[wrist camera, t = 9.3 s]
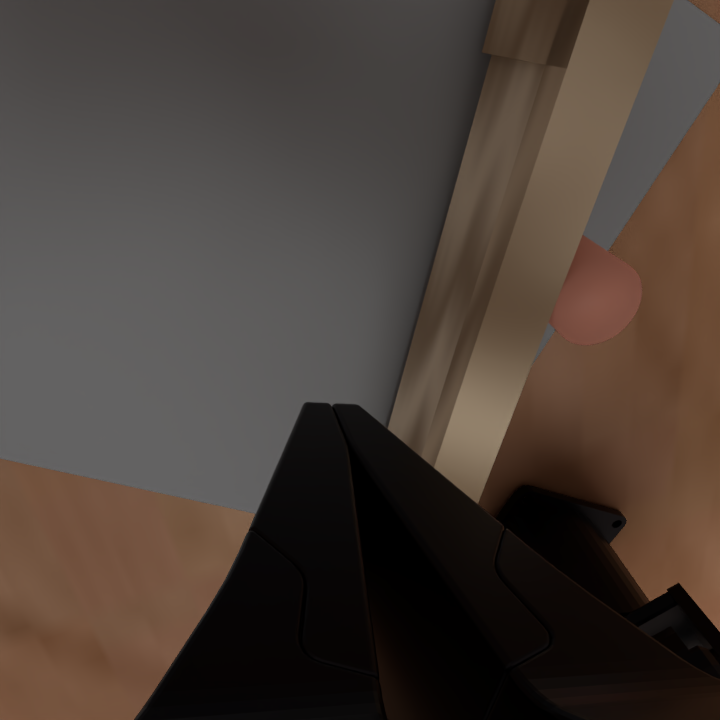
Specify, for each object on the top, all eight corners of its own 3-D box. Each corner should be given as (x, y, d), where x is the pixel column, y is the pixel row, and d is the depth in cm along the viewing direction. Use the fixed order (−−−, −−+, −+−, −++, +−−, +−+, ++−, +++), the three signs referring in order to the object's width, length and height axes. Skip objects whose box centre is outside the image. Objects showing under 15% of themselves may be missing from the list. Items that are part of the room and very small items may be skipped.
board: (723, 41, 19) (919, 56, 14) (405, 530, 28) (448, 660, 22) (-189, -622, 11) (-633, -1289, 5) (-248, 382, 19) (-441, 535, 14)
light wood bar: (415, 460, 24) (456, 558, 20) (371, 457, 23) (403, 558, 19) (562, -7, 16) (677, -10, 12) (502, -23, 16) (600, -32, 12)
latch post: (561, 216, 20) (660, 280, 16) (522, 279, 21) (605, 356, 17) (503, 187, 19) (590, 245, 15) (466, 254, 20) (536, 328, 16)
